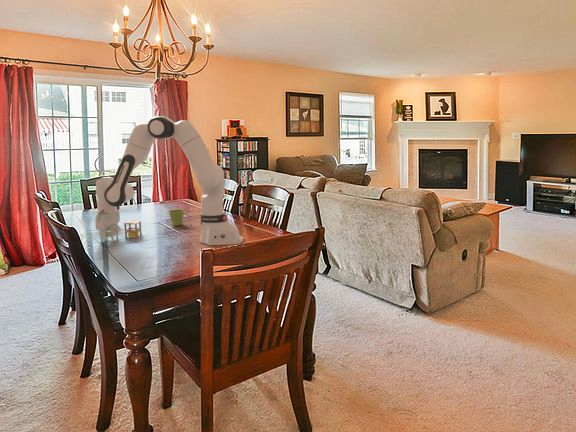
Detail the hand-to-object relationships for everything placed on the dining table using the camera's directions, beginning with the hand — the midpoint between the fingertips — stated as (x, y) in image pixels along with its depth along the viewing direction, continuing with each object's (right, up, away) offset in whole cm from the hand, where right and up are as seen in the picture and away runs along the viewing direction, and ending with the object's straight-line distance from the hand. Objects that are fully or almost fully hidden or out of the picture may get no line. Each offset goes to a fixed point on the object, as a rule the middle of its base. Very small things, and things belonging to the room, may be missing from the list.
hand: (109, 234), depth 221 cm
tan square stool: (+9, -1, +9) cm, 13 cm away
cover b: (0, -3, +1) cm, 3 cm away
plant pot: (+26, +4, +38) cm, 46 cm away
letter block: (+9, -1, +9) cm, 13 cm away
